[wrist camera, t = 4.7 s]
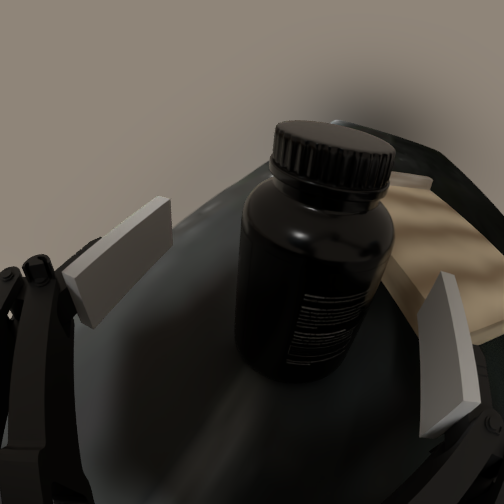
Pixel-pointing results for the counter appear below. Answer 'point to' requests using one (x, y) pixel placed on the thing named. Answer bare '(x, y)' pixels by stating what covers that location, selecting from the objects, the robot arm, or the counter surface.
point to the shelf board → (441, 257)
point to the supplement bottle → (312, 249)
